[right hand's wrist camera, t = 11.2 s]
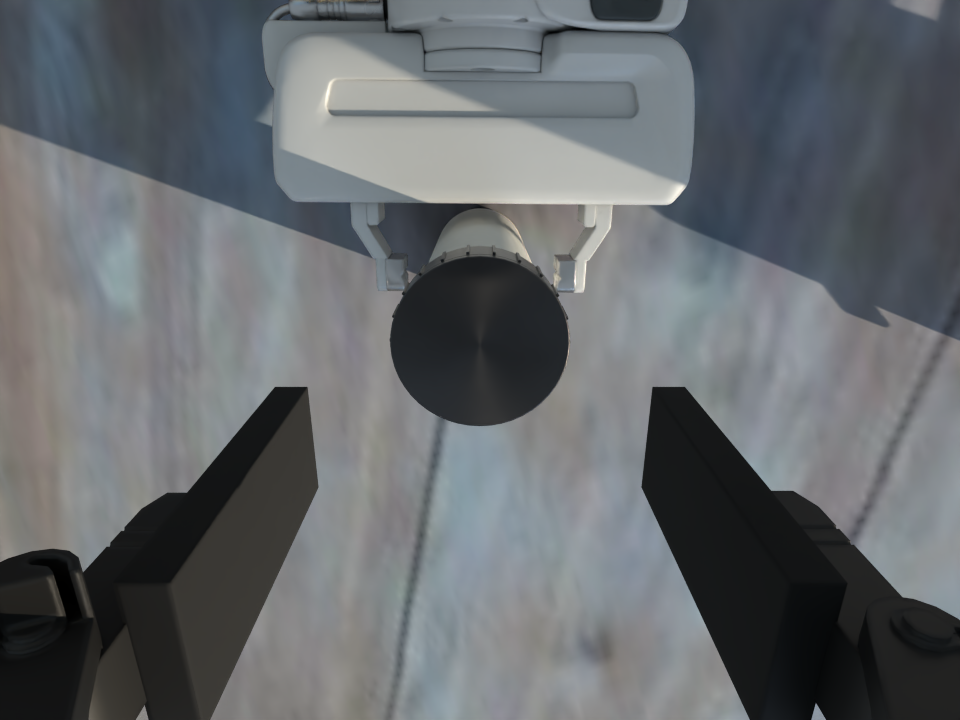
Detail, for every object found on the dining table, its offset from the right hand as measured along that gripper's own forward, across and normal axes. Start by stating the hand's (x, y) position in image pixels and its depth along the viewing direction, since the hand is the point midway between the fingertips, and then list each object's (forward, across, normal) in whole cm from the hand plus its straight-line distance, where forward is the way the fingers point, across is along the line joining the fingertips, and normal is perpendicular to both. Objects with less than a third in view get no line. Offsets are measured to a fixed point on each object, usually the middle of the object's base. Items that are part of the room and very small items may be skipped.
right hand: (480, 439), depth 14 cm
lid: (+7, 0, 0) cm, 7 cm away
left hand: (+19, 0, -1) cm, 19 cm away
